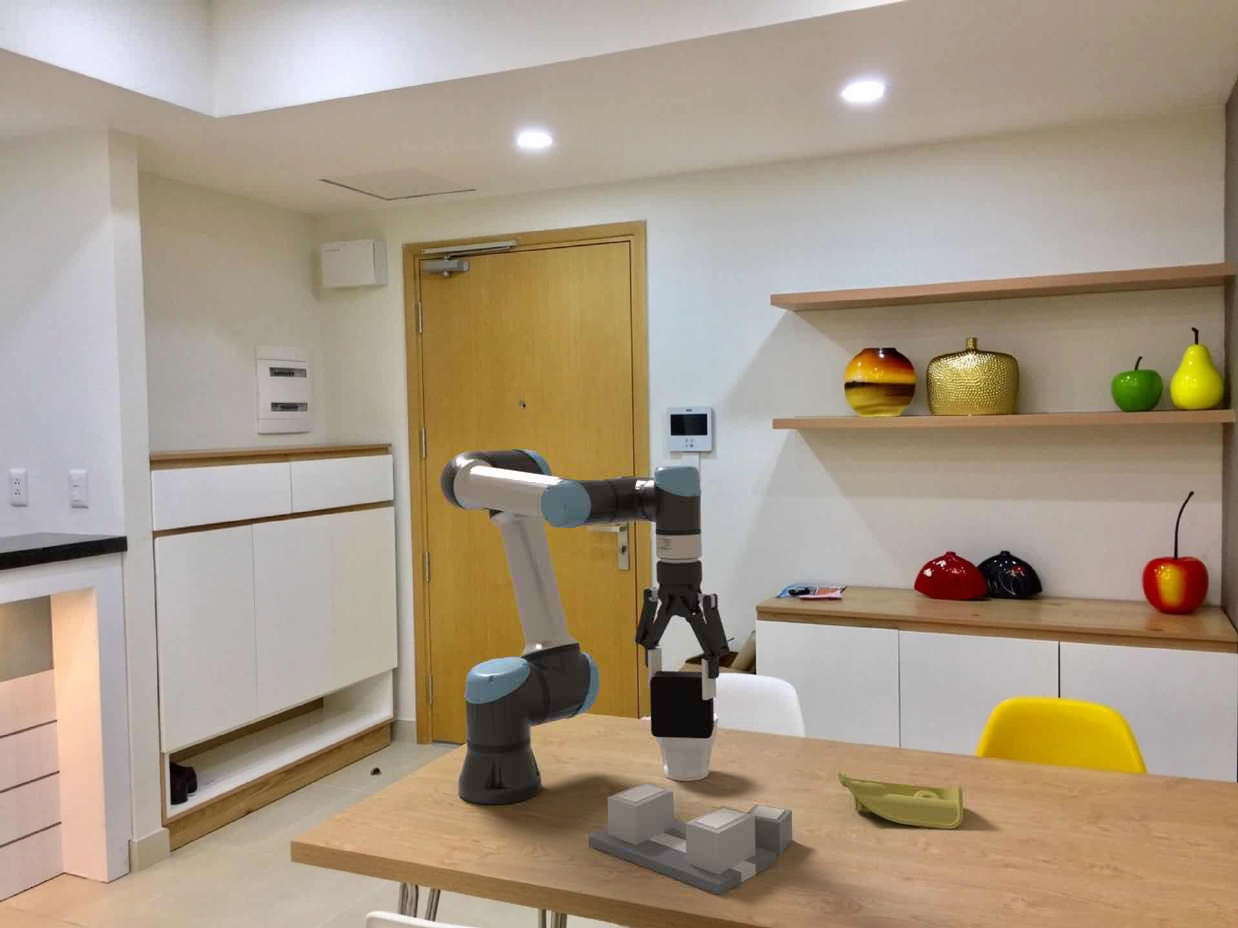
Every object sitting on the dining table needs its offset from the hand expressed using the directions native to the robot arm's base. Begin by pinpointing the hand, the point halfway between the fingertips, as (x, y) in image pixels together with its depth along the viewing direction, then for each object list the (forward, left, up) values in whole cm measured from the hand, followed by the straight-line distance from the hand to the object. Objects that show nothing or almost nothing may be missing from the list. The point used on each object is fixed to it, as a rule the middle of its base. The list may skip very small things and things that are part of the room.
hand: (681, 692), depth 167 cm
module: (+15, +3, -22) cm, 27 cm away
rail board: (+7, -9, -22) cm, 25 cm away
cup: (-16, +20, -22) cm, 34 cm away
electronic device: (0, 0, -7) cm, 7 cm away
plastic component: (+24, +28, -23) cm, 43 cm away
